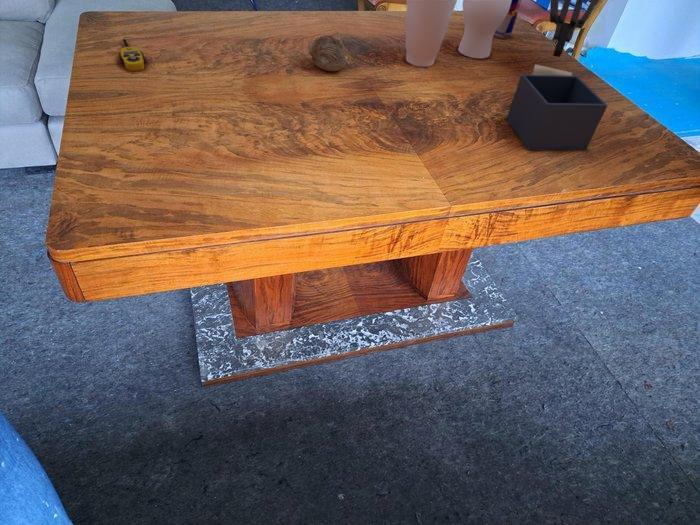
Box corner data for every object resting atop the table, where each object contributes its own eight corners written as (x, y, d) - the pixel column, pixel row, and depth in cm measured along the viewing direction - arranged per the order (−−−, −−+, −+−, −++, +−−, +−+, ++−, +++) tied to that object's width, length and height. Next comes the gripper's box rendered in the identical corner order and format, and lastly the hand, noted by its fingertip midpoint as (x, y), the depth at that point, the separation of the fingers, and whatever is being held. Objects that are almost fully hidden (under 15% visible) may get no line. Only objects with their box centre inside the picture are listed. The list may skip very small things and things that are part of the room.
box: (586, 150, 100) (607, 105, 94) (528, 150, 98) (546, 104, 92) (559, 118, 109) (577, 75, 102) (506, 118, 107) (521, 74, 100)
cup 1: (451, 70, 122) (468, -2, 111) (405, 72, 119) (418, -2, 108) (432, 49, 130) (446, -19, 119) (389, 51, 127) (399, -20, 115)
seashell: (315, 79, 113) (348, 74, 115) (314, 48, 108) (349, 43, 110) (303, 60, 119) (335, 55, 121) (302, 29, 114) (335, 25, 116)
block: (524, 94, 116) (535, 64, 111) (560, 102, 115) (572, 72, 110) (521, 109, 110) (532, 78, 106) (558, 118, 109) (571, 87, 104)
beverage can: (495, 38, 139) (512, -22, 129) (489, 31, 143) (506, -28, 132) (512, 39, 140) (531, -20, 129) (506, 32, 144) (524, -27, 133)
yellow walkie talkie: (122, 63, 105) (111, 35, 114) (124, 72, 106) (113, 43, 115) (147, 61, 107) (134, 33, 116) (148, 70, 108) (135, 42, 117)
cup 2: (465, 62, 126) (482, -7, 115) (444, 44, 133) (459, -23, 122) (504, 60, 129) (524, -8, 118) (481, 42, 136) (499, -24, 125)
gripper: (612, -32, 116) (582, 67, 116) (554, -42, 119) (525, 55, 119) (624, -54, 109) (592, 52, 109) (562, -64, 111) (531, 39, 111)
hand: (557, 53), depth 114 cm, fingers closed
